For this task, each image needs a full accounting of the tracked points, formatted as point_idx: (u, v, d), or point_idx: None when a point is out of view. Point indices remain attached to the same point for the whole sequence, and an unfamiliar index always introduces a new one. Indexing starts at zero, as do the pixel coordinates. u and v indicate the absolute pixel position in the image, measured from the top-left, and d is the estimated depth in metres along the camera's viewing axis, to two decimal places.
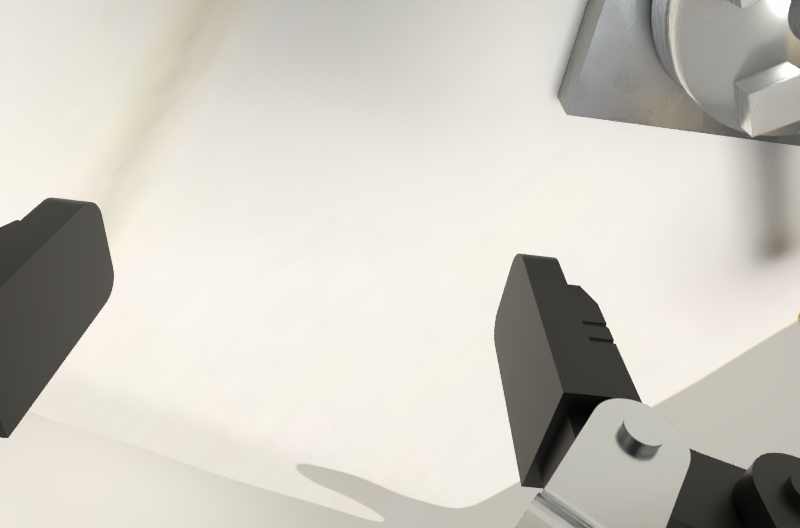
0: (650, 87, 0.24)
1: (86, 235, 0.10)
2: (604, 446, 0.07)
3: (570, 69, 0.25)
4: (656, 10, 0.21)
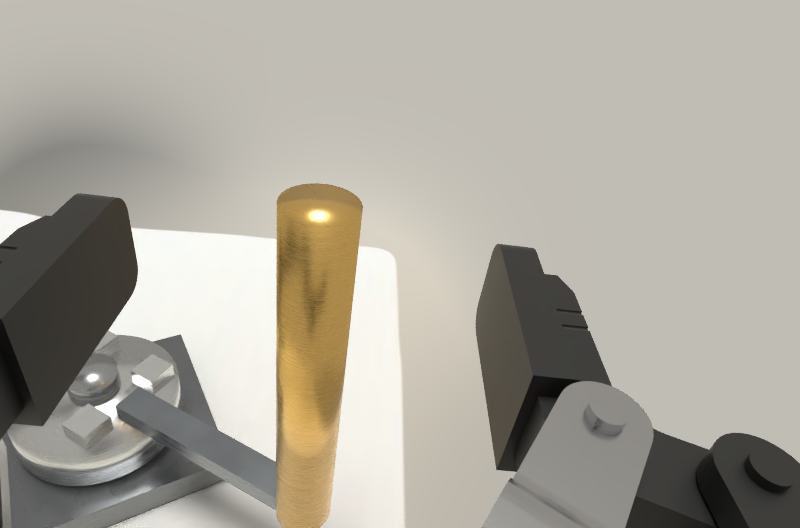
0: (55, 500, 0.32)
1: (114, 230, 0.10)
2: (571, 429, 0.07)
3: None
4: (20, 459, 0.33)
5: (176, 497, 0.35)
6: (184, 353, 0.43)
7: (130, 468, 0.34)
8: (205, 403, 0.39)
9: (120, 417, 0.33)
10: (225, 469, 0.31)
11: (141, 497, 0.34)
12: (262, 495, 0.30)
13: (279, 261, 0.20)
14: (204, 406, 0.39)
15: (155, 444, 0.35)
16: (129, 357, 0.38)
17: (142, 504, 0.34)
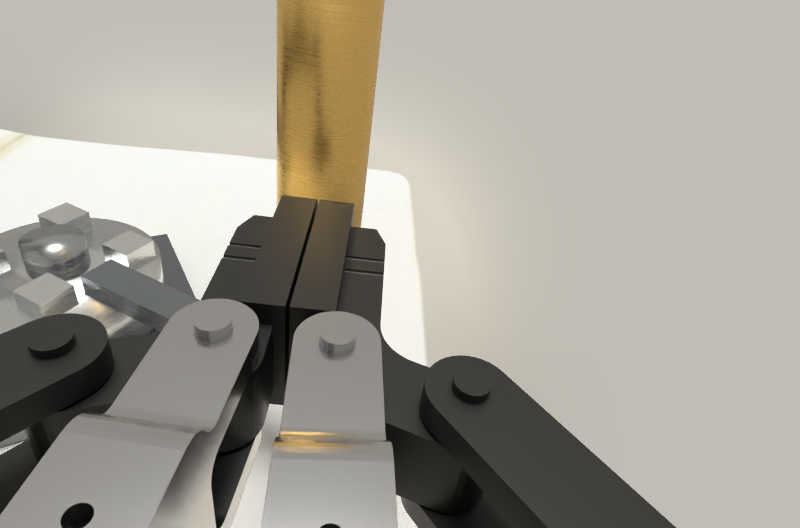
0: None
1: None
2: (313, 364, 0.07)
3: None
4: None
5: None
6: (170, 251, 0.37)
7: None
8: None
9: (87, 292, 0.27)
10: None
11: None
12: None
13: None
14: None
15: (131, 330, 0.29)
16: (103, 238, 0.32)
17: None
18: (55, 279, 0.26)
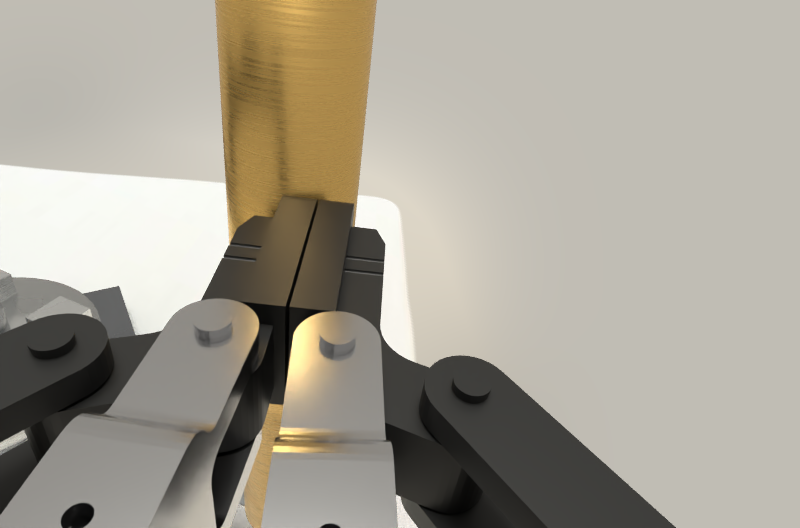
0: None
1: None
2: (313, 364, 0.07)
3: None
4: None
5: None
6: (121, 308, 0.32)
7: None
8: None
9: None
10: None
11: None
12: None
13: None
14: None
15: None
16: (30, 304, 0.26)
17: None
18: None
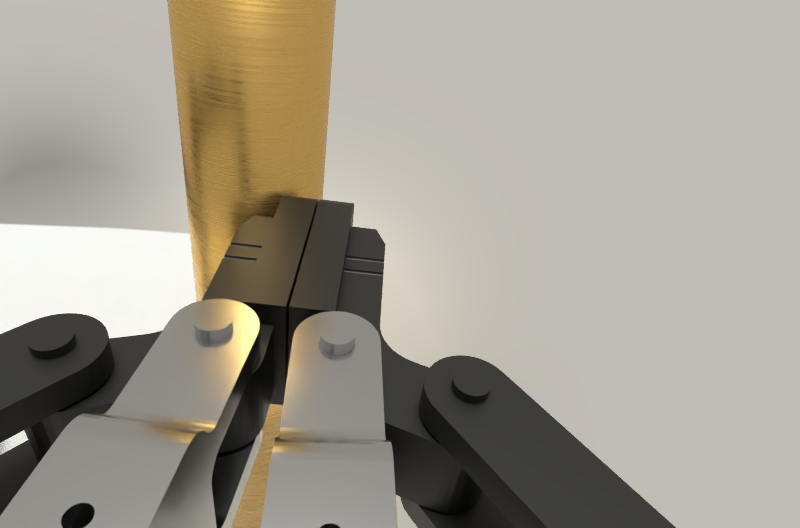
0: None
1: None
2: (313, 364, 0.07)
3: None
4: None
5: None
6: None
7: None
8: None
9: None
10: None
11: None
12: None
13: None
14: None
15: None
16: None
17: None
18: None
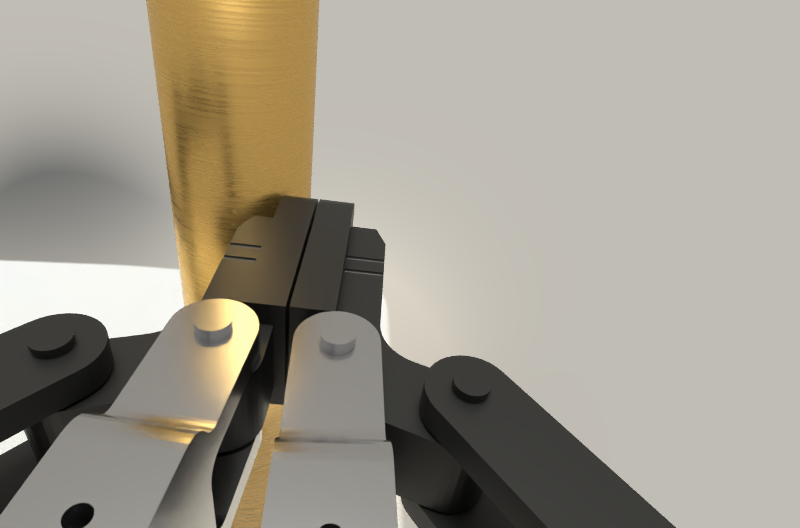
0: None
1: None
2: (313, 364, 0.07)
3: None
4: None
5: None
6: None
7: None
8: None
9: None
10: None
11: None
12: None
13: None
14: None
15: None
16: None
17: None
18: None
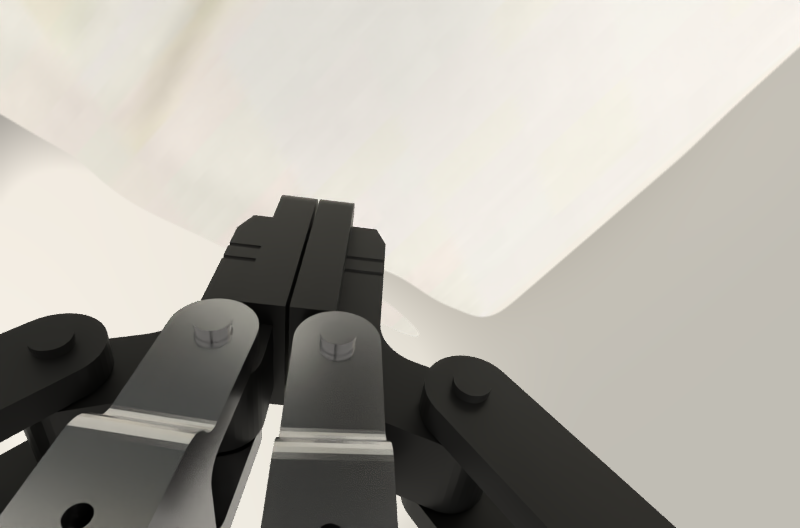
0: None
1: None
2: (313, 364, 0.07)
3: None
4: None
5: None
6: None
7: None
8: None
9: None
10: None
11: None
12: None
13: None
14: None
15: None
16: None
17: None
18: None
